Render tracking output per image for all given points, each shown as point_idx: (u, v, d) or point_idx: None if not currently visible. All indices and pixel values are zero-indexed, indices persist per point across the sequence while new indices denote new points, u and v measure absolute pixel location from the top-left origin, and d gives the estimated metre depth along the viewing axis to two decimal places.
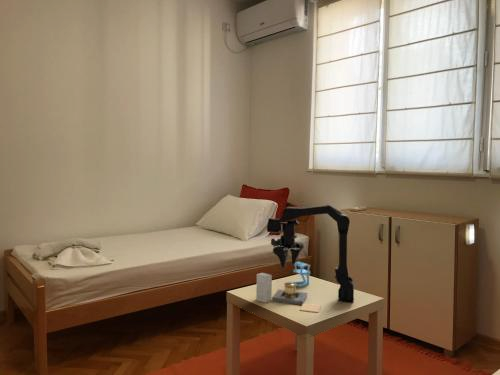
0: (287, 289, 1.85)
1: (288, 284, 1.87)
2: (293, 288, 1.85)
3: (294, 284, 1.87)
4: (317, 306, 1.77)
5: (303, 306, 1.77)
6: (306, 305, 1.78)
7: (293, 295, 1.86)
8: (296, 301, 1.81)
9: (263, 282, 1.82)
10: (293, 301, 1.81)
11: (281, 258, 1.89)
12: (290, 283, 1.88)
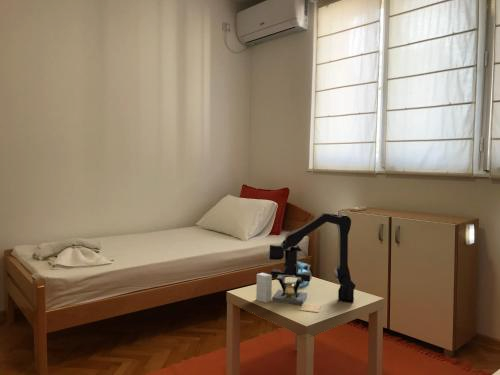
0: (287, 289, 1.85)
1: (288, 284, 1.87)
2: (293, 288, 1.85)
3: (294, 284, 1.87)
4: (317, 306, 1.77)
5: (303, 306, 1.77)
6: (306, 305, 1.78)
7: (293, 295, 1.86)
8: (296, 301, 1.81)
9: (263, 282, 1.82)
10: (293, 301, 1.81)
11: None
12: (290, 283, 1.88)
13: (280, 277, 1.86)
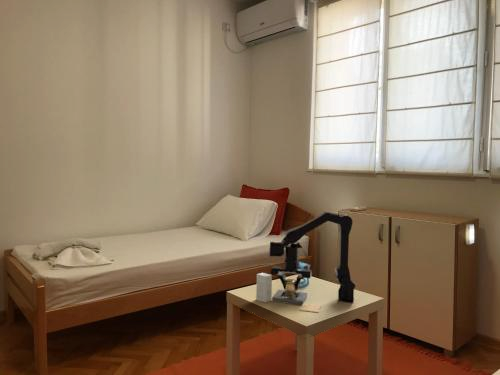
0: (288, 286, 1.86)
1: (288, 281, 1.87)
2: (294, 285, 1.86)
3: (294, 281, 1.87)
4: (317, 306, 1.77)
5: (303, 306, 1.77)
6: (306, 305, 1.78)
7: (294, 292, 1.86)
8: (296, 301, 1.81)
9: (263, 282, 1.82)
10: (293, 301, 1.81)
11: None
12: (291, 280, 1.89)
13: (280, 274, 1.87)
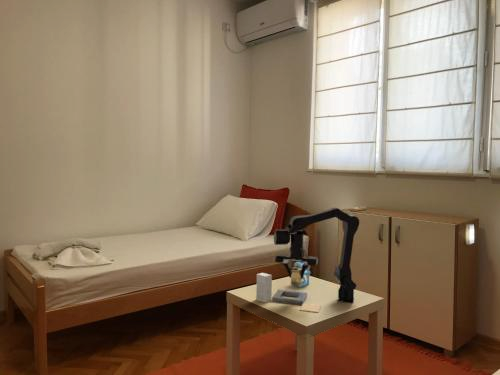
0: (293, 274, 1.82)
1: (294, 269, 1.83)
2: (299, 273, 1.82)
3: (300, 269, 1.83)
4: (317, 306, 1.77)
5: (303, 306, 1.77)
6: (306, 305, 1.78)
7: (299, 280, 1.82)
8: (296, 301, 1.81)
9: (263, 282, 1.82)
10: (293, 301, 1.81)
11: None
12: (296, 268, 1.84)
13: (286, 262, 1.83)
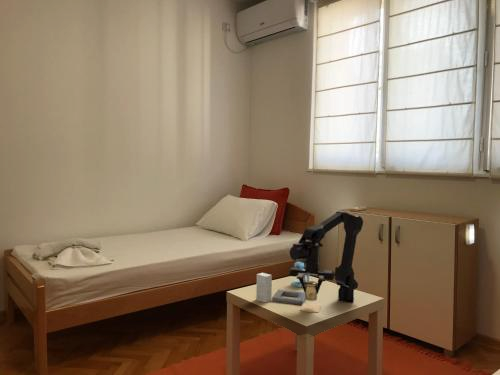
0: (308, 288, 1.73)
1: (309, 283, 1.75)
2: (314, 287, 1.73)
3: (315, 283, 1.75)
4: (317, 306, 1.77)
5: (303, 306, 1.77)
6: (306, 305, 1.78)
7: (314, 295, 1.73)
8: (296, 301, 1.81)
9: (263, 282, 1.82)
10: (293, 301, 1.81)
11: None
12: (311, 282, 1.76)
13: (300, 276, 1.74)
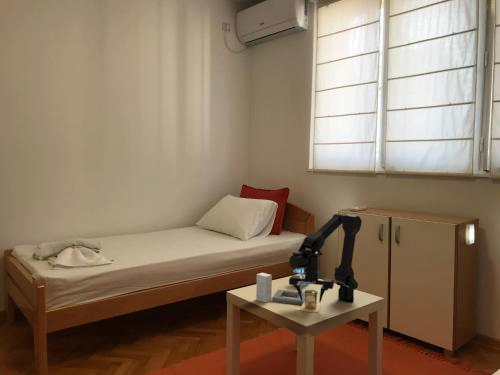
0: (308, 297, 1.74)
1: (309, 292, 1.75)
2: (314, 296, 1.73)
3: (315, 292, 1.75)
4: (317, 306, 1.77)
5: (303, 306, 1.77)
6: None
7: (314, 304, 1.74)
8: (296, 301, 1.81)
9: (263, 282, 1.82)
10: (293, 301, 1.81)
11: None
12: (311, 291, 1.76)
13: (297, 284, 1.75)
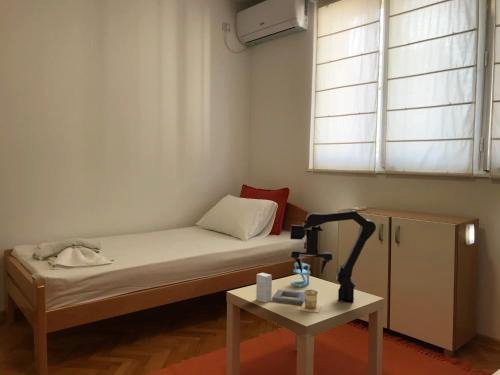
0: (308, 297, 1.74)
1: (309, 292, 1.75)
2: (314, 296, 1.73)
3: (315, 292, 1.75)
4: (317, 306, 1.77)
5: (303, 306, 1.77)
6: None
7: (314, 304, 1.74)
8: (296, 301, 1.81)
9: (263, 282, 1.82)
10: (293, 301, 1.81)
11: None
12: (311, 291, 1.76)
13: None
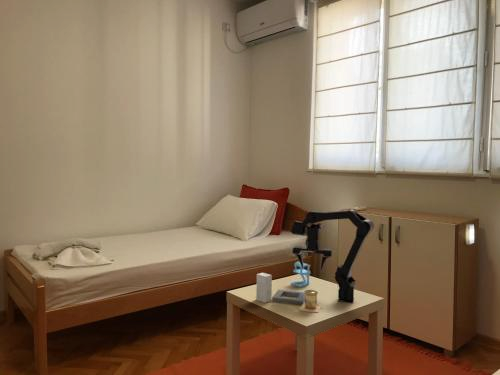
0: (308, 297, 1.74)
1: (309, 292, 1.75)
2: (314, 296, 1.73)
3: (315, 292, 1.75)
4: (317, 306, 1.77)
5: (303, 306, 1.77)
6: None
7: (314, 304, 1.74)
8: (296, 301, 1.81)
9: (263, 282, 1.82)
10: (293, 301, 1.81)
11: None
12: (311, 291, 1.76)
13: None
